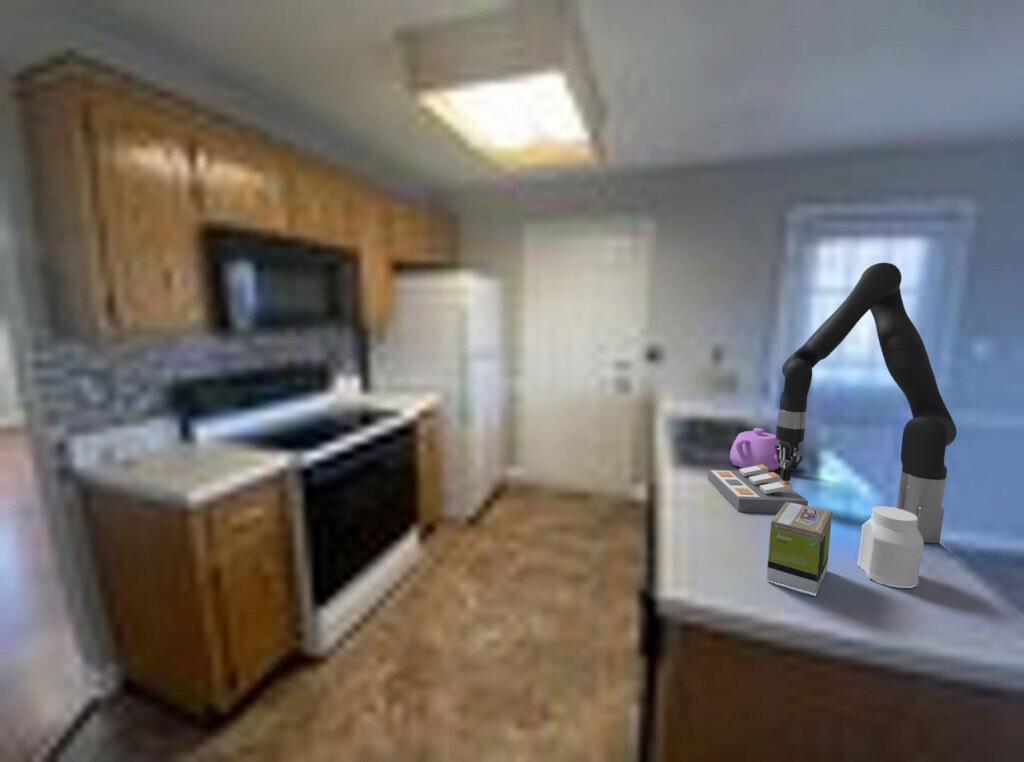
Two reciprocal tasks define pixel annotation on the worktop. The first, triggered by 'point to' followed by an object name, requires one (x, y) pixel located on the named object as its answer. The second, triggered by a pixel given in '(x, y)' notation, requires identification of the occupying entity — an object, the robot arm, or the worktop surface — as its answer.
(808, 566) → the tea box
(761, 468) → the rocker
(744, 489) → the switch panel
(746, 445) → the teapot
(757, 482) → the rocker
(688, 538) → the worktop surface
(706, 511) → the worktop surface
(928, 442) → the robot arm
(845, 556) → the worktop surface
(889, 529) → the jar
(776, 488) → the rocker
